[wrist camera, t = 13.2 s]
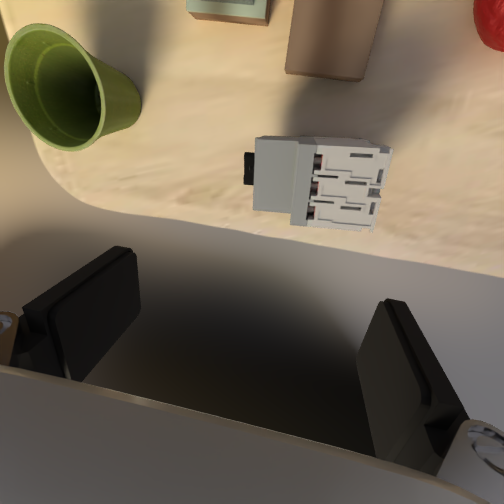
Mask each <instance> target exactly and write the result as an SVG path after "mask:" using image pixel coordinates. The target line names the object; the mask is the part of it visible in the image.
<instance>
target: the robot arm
mask: <svg viewBox="0 0 504 504" xmlns="http://www.w3.org/2000/svg"><path fill="white" fill-rule="evenodd" d="M22 309H23V311H24V314H23V315H21V316H20V317H18V316H17V315H16V314H15V313H12V312H9V311H0V504H504V432H503V431H501V430H499V429H498V428H496V427H494V426H493V425H491V424H488V423H486V422H483V421H480V420H474V419H470V418H469V417H468V415H467V413H466V411H465V409H464V407H463V405H462V403H461V401H460V400H459V398H458V396H457V394H456V392H455V390H454V389H453V387H452V385H451V383H450V381H449V380H448V378H447V376H446V374H445V372H444V371H443V369H442V367H441V365H440V363H439V362H438V360H437V358H436V356H435V355H434V353H433V351H432V349H431V347H430V346H429V344H428V342H427V340H426V338H425V337H424V335H423V333H422V331H421V330H420V328H419V326H418V324H417V322H416V320H415V319H414V317H413V315H412V313H411V311H410V310H409V308H408V306H407V304H406V303H405V302H403V301H398V300H393V299H386V300H385V301H384V302H383V301H380V302H379V304H378V306H377V308H376V311H375V313H374V316H373V318H372V320H371V323H370V325H369V327H368V330H367V332H366V335H365V337H364V339H363V342H362V344H361V347H360V349H359V351H358V354H357V359H356V361H357V362H356V363H357V369H358V373H359V378H360V383H361V387H362V392H363V396H364V401H365V406H366V411H367V415H368V420H369V425H370V429H371V434H372V438H373V443H374V447H375V452H376V457H377V458H373V457H370V456H366V455H363V454H359V453H356V452H352V451H348V450H345V449H341V448H338V447H334V446H330V445H326V444H322V443H318V442H314V441H311V440H306V439H303V438H299V437H295V436H291V435H287V434H284V433H280V432H276V431H272V430H268V429H264V428H260V427H256V426H252V425H249V424H245V423H241V422H237V421H233V420H229V419H225V418H221V417H217V416H213V415H209V414H206V413H202V412H198V411H194V410H190V409H185V408H182V407H178V406H174V405H170V404H166V403H162V402H158V401H153V400H150V399H146V398H142V397H138V396H134V395H130V394H126V393H122V392H118V391H114V390H110V389H106V388H101V387H97V386H93V385H89V384H85V383H81V382H82V381H83V380H84V379H85V377H86V376H87V375H88V374H89V373H90V372H91V370H92V369H93V368H94V367H95V366H96V364H97V363H98V362H99V361H100V360H101V359H102V357H103V356H104V355H105V354H106V353H107V352H108V350H109V349H110V348H111V347H112V346H113V345H114V343H115V342H116V341H117V340H118V338H119V337H120V336H121V335H122V334H123V333H124V332H125V330H126V329H127V328H128V327H129V326H130V325H131V323H132V322H133V321H134V320H135V319H136V318H137V316H138V315H139V313H140V309H141V302H140V291H139V280H138V267H137V256H136V254H135V253H133V251H132V249H131V248H127V247H121V246H114V247H112V248H111V249H109V250H108V251H106V252H105V253H103V254H102V255H100V256H99V257H97V258H96V259H94V260H93V261H91V262H90V263H88V264H87V265H85V266H83V267H82V268H80V269H79V270H77V271H76V272H74V273H73V274H71V275H70V276H68V277H67V278H65V279H64V280H62V281H61V282H59V283H58V284H57V285H55V286H53V287H52V288H51V289H49V290H47V291H46V292H44V293H43V294H41V295H40V296H38V297H37V298H35V299H34V300H32V301H31V302H29V303H28V304H26V305H24V306H23V307H22Z"/></svg>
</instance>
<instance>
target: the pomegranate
mask: <svg viewBox="0 0 504 504" xmlns="http://www.w3.org/2000/svg"><path fill="white" fill-rule="evenodd" d="M473 14H474V21H475V25H476V28H477V31H478V34H479V36H480V38H481V40H482V41H483V43H484V44H485V45H487V46H489V47H490V48H492V49H495V50H498V51H501V52H504V0H475V1H474V8H473Z"/></svg>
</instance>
